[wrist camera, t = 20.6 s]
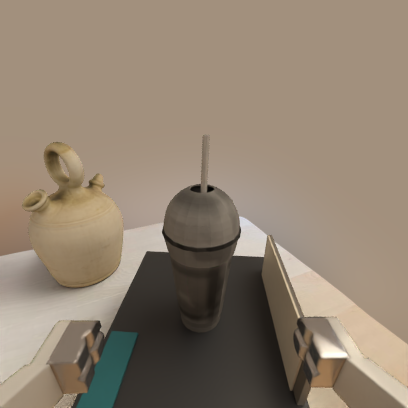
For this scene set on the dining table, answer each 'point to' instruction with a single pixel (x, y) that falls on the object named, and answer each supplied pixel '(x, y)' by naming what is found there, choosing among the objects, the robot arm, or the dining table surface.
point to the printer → (203, 344)
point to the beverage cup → (201, 248)
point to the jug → (74, 223)
